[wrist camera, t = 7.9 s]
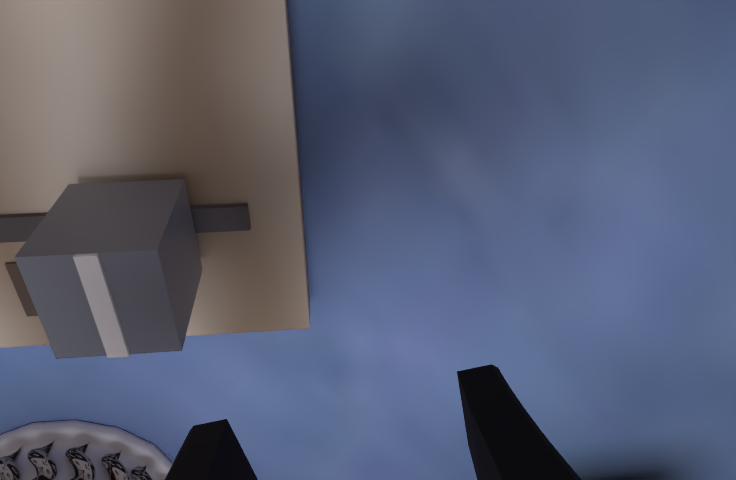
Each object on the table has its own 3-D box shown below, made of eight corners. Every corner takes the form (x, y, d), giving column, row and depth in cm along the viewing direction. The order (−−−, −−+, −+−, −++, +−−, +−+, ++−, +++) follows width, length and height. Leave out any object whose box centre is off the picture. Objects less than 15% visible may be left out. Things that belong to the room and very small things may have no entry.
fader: (184, 179, 15) (156, 252, 12) (202, 270, 17) (181, 353, 14) (68, 183, 15) (12, 260, 12) (98, 275, 17) (54, 361, 14)
